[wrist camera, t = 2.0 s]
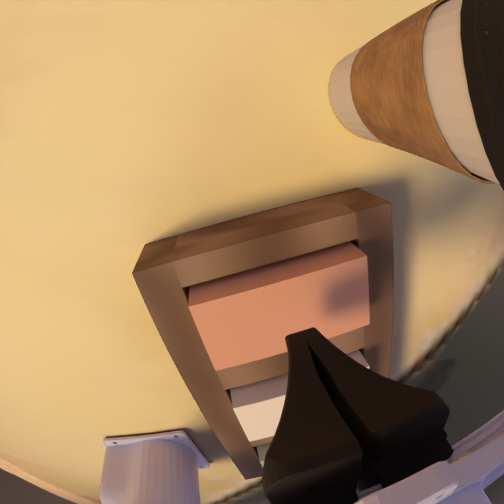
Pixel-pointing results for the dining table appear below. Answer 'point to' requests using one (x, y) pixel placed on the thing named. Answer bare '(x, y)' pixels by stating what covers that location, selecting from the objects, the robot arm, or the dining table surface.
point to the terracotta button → (281, 304)
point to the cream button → (266, 403)
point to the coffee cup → (432, 87)
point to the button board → (251, 256)
